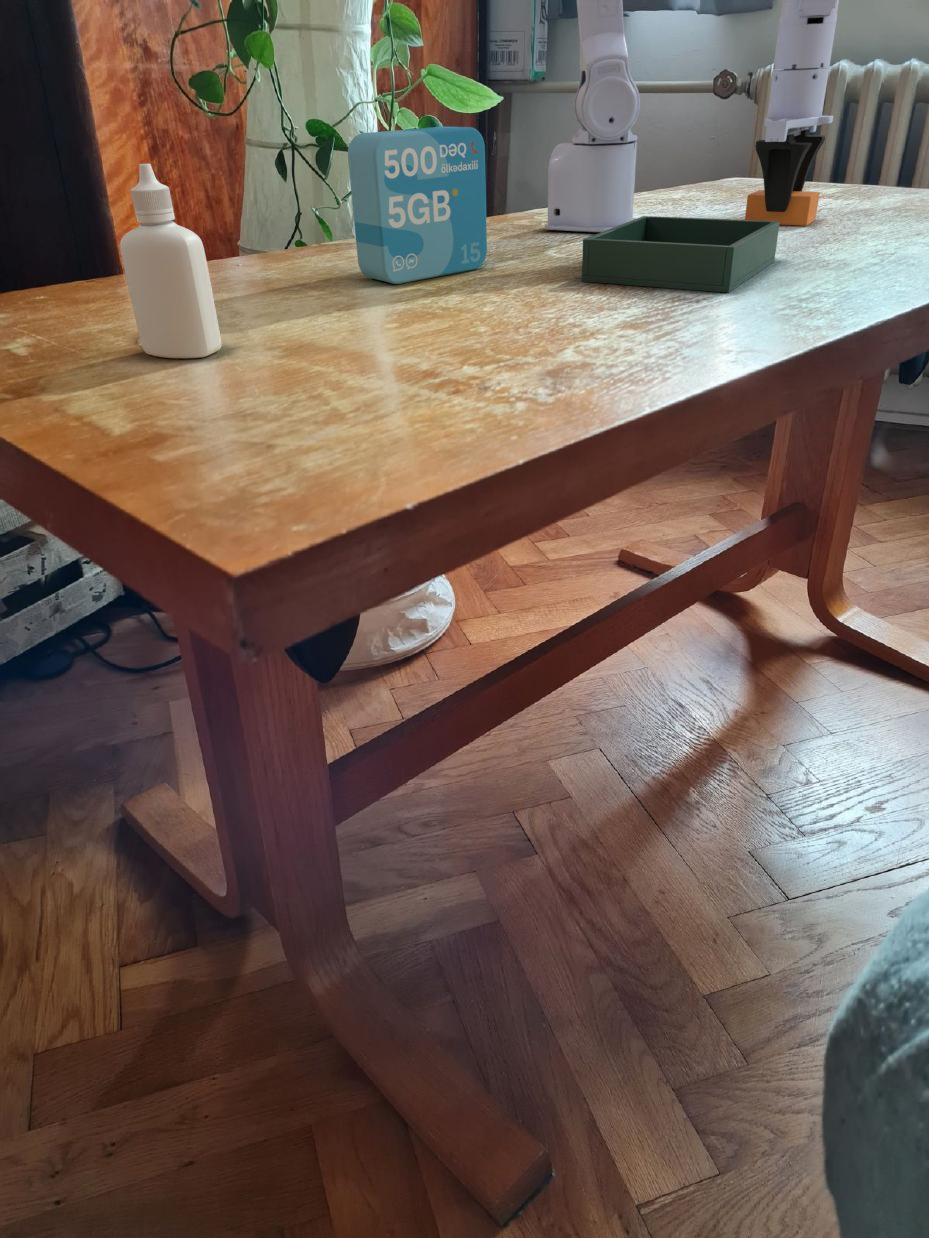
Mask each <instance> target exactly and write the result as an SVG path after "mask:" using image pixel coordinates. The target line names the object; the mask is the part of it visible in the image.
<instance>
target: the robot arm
mask: <svg viewBox="0 0 929 1238" xmlns="http://www.w3.org/2000/svg"><path fill="white" fill-rule="evenodd" d="M781 1H782V3H781V9H780V10H781V11H780V17H779V20H778V27H777V35H776V41H775V42H776V44H775V50H774V59H773V60H774V61H773V67H772V73H771V74H772V75H771V81H770V91H769V97H768V98H769V99H768V107H767V115H766V117H765V118H764V122H763V125H764V126H765V127H766V128H765V137H764V139H759V140H756V141H755V146H754V148H755V152H756V154H757V157H758V159H759V163H760V166H761V172H762V177H763V179H762V180H763V190H764V192H765V205H766V211H768V212H785V211H786V209H787V207H788V205H789V202H790V199H791V195H792V191H803V189H804V186H805V183H806V180H807V178H808V174H809V171H810V170H811V166H812V164H813V162H814V160H815V158H816V156H817V155H818V152H819V151H820V149H821V148H822V146H823V144H824V142H825V140H826V135H825V134H811V133H816V132H817V127H818V126H821V125H827V124H832V123H833V121H834V115H823V111H824V105H825V104H824V103H825V99H826V91H827V85H828V78H829V73H830V66H831V60H832V53H833V48H834V47H833V46H834V40H835V32H836V26H837V21H838V10H839V2H840V0H781ZM623 3H624V2H623V0H576V8H577V9H576V11H577V22H578V23H577V25H578V35H579V36H578V37H579V78H580V79H579V84H578V87H577V91H576V94H575V97H574V104H573V107H574V113H575V118H576V120H577V122H578V124H579V125H580V128H579V129H578V130H577V131H576V133H575V134H573V135H572V136H571V142H561V143H559V144H557V145H556V146H555V147H554V148H553V150H552V152H551V155H550V158H549V161H548V162H549V163H548V170H547V224H544V230H547V231H548V230H549V231H565V232H567V231H568V232H588V233H601V232H603V231H606V230H609V229H611V228H614V227H616V226H619V225H622V224H624V223H627V222H629V221H632V220H635V219H636V218H634V202H635V185H636V166H637V151H638V150H637V149H638V141H637V140H638V135H636V134H633V132H632V128H633V126H634V125H635V123H636V121H637V119H638V117H639V115H640V109H641V95H640V92H639V89H638V87H637V85H636V83H635V81H634V79H633V77H632V75H631V71H630V64H629V63H630V62H629V52H628V45H627V42H626V36H625V25H624V24H625V23H624V7H623V6H624V5H623Z"/></svg>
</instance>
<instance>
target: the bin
mask: <svg viewBox="0 0 929 1238" xmlns="http://www.w3.org/2000/svg"><path fill="white" fill-rule="evenodd" d="M634 219H635V220H632V221H629V222H627V223H624V224H622V225H619V226H616V227H614V228H611V229H609V230H606V231H603V232H597V233H596V234H593V235H590V236H588V237H585V238H583V239H582V257H581V258H582V261H581V264H582V265H581V282H586V283H598V284H613V285H625V286H636V287H650V288H663V289H675V290H687V291H701V292H714V293H727V294H728V293H730V292H732V291H734V290H735V289H736V288H738V287H739V286H741V285H742V284H744V283H745V282H747V281H748V280H749V279H751V278H753V277H754V276H756V275H757V274H759V273H760V272H762V271H763V270H764V269H766V268H767V267H769V266H771V265H772V264H773V263H774V262H775V259H776V252H777V245H778V237H779V230H780V225H779V224H780V222H779V221H759V220H745V219H729V218H704V217H680V216H678V217H677V216H654V215H653V216H652V215H649V216H648V215H642V216H640V217H637V218H634Z"/></svg>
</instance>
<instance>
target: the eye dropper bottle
mask: <svg viewBox="0 0 929 1238" xmlns="http://www.w3.org/2000/svg"><path fill="white" fill-rule="evenodd" d="M138 173H139V180H138V183H137V184H136V185H135V186H133V187H132V188H131V189H130V195H131V200H132V204H133V209H134V214H135V218H136V222H137V223H140V224H139V225H138V226H137V227H135V228H133V229H131V230H130V231H128V232H126V233H125V234H124V235H123V236H122V238H121V239H120V242H119V249H120V255H121V260H122V265H123V271H124V275H125V278H126V283H127V287H128V292H129V297H130V301H131V305H132V310H133V313H134V319H135V323H136V327H137V331H138V336H139V340H140V344H141V347H142V350H143V351H144V353H145V354H147V355H149V356H153V357H159V358H163V359H164V358H165V359H199V358H205V357H208V356H211V355H212V354H214V353H217V352H219V350H221V348H222V338H221V337H222V336H221V332H220V326H219V321H218V315H217V309H216V305H215V298H214V293H213V287H212V283H211V278H210V277H211V276H210V272H209V266H208V261H207V256H206V251H205V248H204V244H203V241H202V239H201V238H200V236H199V235H197V233H195V232H194V231H192V230H190V229H188V228H186V227H184V226H182V225H179V224H177V223H176V222H175V221H174V220H175V219H176V217H175V212H174V206H173V202H172V201H173V200H172V196H171V191H170V187H169V186H168V185H165V184H162V183H161V182H160V181H159V180H158V179H157V177H156V175H155V173H154V170H153V167H152V165H151V163H140V164H138Z"/></svg>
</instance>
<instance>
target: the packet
mask: <svg viewBox="0 0 929 1238" xmlns="http://www.w3.org/2000/svg"><path fill="white" fill-rule="evenodd" d="M820 193H821V192H820V191H809V190H808V191H803V190H802V191H792V195H791V199H790V202H789V205H788V207H787V209H786V211H785V212H768V211H766V205H765V192H764V189H763V190H762V189H761V190H760V189H758V190H756V191H754V192H752V193H750V194H747V197H746V207H745V213H744V214H745V215H744V220H759V221H779V222H780V224H779V226H798V227H799V226H801V227H805V226H809V225H810V224H811V223H813V222H814V221H816V218H817V213H818V207H819V206H818V205H819V199H820Z"/></svg>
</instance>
